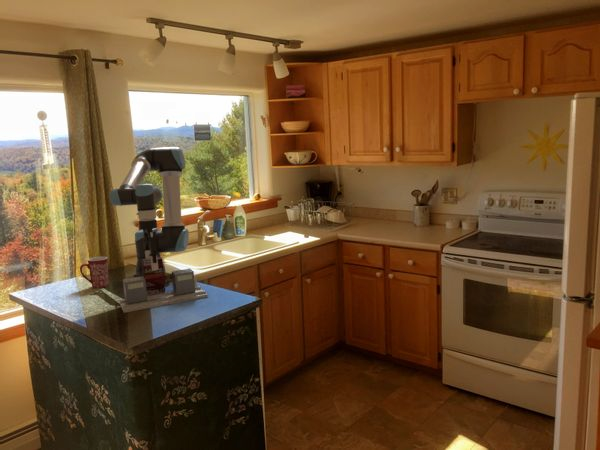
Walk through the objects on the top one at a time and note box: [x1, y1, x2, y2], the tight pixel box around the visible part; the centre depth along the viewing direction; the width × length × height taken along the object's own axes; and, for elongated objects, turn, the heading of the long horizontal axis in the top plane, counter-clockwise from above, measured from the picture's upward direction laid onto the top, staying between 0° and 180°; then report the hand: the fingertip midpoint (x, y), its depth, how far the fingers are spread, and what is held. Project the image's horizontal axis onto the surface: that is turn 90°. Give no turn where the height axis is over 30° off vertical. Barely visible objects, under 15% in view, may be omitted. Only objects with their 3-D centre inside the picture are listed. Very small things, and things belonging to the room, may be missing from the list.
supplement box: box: [141, 256, 166, 296], centre depth 223 cm, size 9×5×16 cm, turn 116°
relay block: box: [194, 274, 198, 287], centre depth 228 cm, size 5×5×6 cm
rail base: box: [119, 268, 208, 314], centre depth 211 cm, size 13×34×11 cm, turn 116°
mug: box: [79, 256, 109, 289], centre depth 240 cm, size 13×9×14 cm
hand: (152, 267), depth 222 cm, fingers open, 13 cm apart
